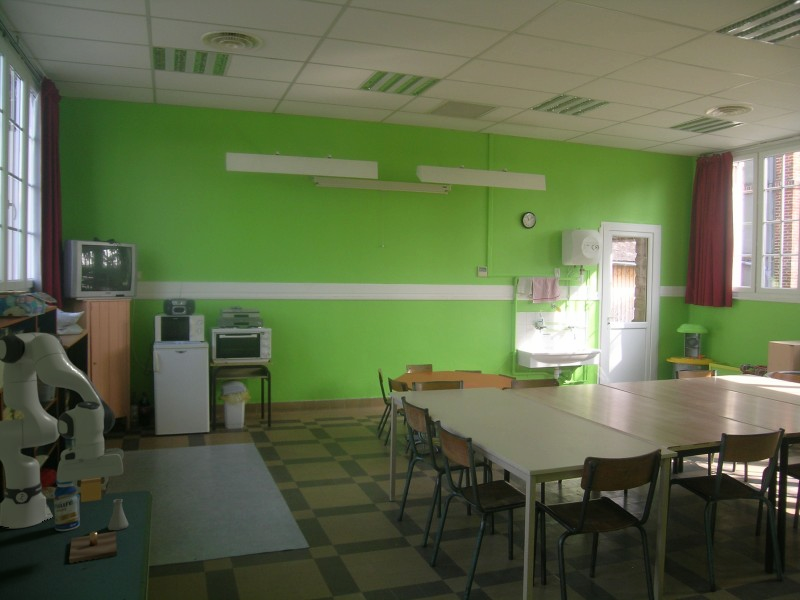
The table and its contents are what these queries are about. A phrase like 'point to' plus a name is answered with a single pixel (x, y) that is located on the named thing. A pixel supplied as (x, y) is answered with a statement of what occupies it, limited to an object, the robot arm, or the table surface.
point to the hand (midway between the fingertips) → (91, 491)
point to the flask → (118, 517)
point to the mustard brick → (90, 489)
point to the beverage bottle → (66, 506)
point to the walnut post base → (93, 547)
